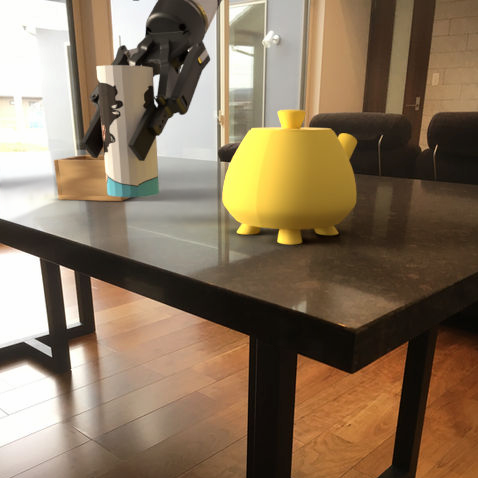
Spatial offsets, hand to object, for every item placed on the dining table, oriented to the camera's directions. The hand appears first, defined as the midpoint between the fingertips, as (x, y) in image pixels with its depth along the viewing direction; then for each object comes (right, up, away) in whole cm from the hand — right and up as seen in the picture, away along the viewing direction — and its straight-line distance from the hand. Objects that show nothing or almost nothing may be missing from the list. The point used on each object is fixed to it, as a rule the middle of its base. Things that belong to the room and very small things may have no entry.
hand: (112, 151), depth 64 cm
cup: (+2, -4, +5) cm, 7 cm away
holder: (-8, +1, +26) cm, 28 cm away
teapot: (+23, -10, 0) cm, 25 cm away
